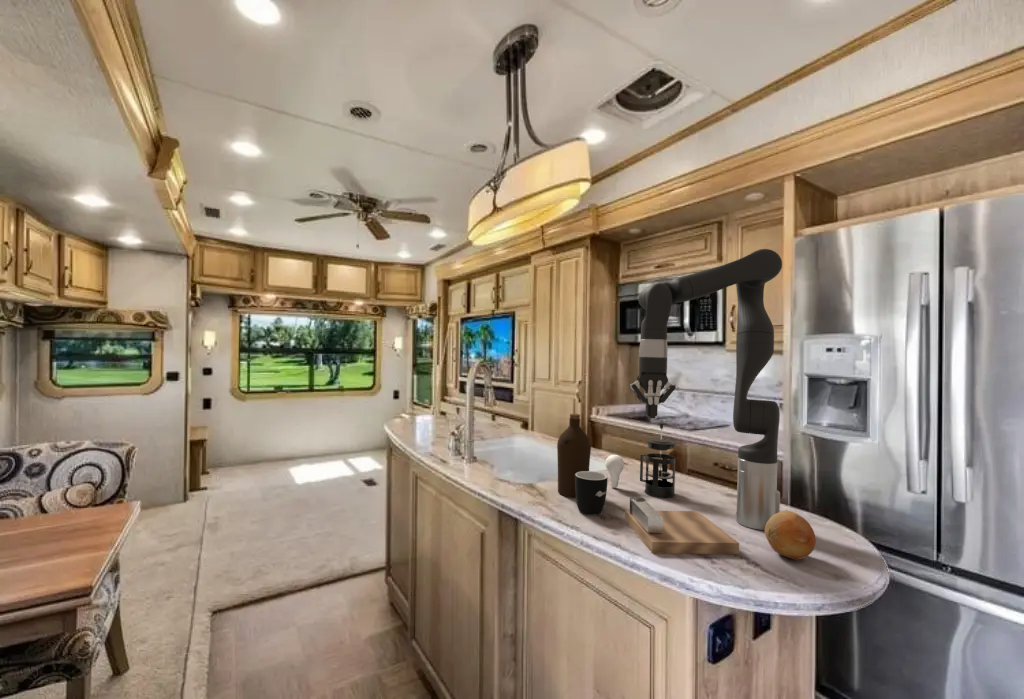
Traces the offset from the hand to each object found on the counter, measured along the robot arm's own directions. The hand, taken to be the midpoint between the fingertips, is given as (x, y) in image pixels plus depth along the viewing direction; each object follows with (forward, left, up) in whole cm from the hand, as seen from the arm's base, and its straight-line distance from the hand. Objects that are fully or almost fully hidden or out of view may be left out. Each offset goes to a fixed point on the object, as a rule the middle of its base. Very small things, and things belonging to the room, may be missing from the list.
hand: (651, 417), depth 123 cm
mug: (+15, -3, -27) cm, 31 cm away
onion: (-23, +25, -27) cm, 43 cm away
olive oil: (+18, -18, -27) cm, 37 cm away
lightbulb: (+3, -24, -27) cm, 36 cm away
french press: (-10, -19, -27) cm, 35 cm away
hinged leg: (+6, +12, -24) cm, 27 cm away
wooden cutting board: (-2, +14, -27) cm, 30 cm away
